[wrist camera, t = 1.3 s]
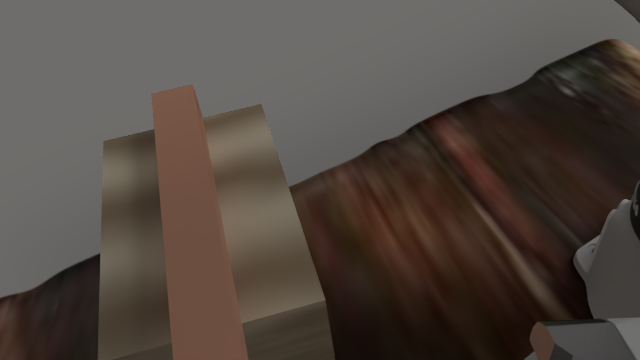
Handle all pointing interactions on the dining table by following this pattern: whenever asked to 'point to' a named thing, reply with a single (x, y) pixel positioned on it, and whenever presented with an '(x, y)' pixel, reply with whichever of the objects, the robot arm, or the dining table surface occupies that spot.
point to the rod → (194, 235)
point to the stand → (241, 238)
